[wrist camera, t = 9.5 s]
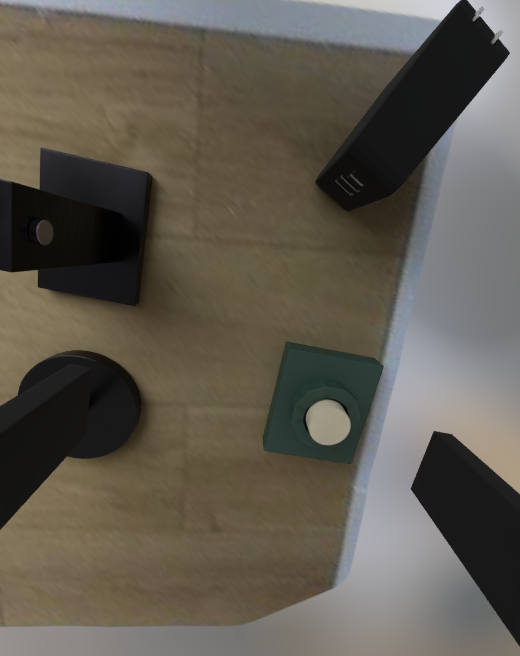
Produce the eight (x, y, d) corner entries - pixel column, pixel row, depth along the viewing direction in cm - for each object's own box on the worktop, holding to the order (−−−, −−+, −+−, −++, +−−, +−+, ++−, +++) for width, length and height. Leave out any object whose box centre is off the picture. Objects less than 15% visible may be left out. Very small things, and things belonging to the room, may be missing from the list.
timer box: (286, 341, 31) (291, 354, 27) (375, 358, 32) (392, 373, 28) (262, 438, 34) (264, 462, 30) (344, 451, 35) (356, 476, 31)
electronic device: (312, 183, 27) (347, 147, 18) (387, 85, 26) (471, -15, 16) (345, 213, 28) (395, 194, 19) (420, 119, 26) (519, 45, 17)
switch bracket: (49, 151, 26) (-161, 48, 13) (152, 175, 27) (58, 102, 13) (45, 285, 29) (-128, 317, 16) (138, 303, 30) (49, 348, 16)
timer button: (311, 396, 29) (314, 405, 27) (349, 402, 29) (355, 412, 28) (301, 431, 30) (304, 441, 28) (338, 437, 30) (344, 448, 29)
